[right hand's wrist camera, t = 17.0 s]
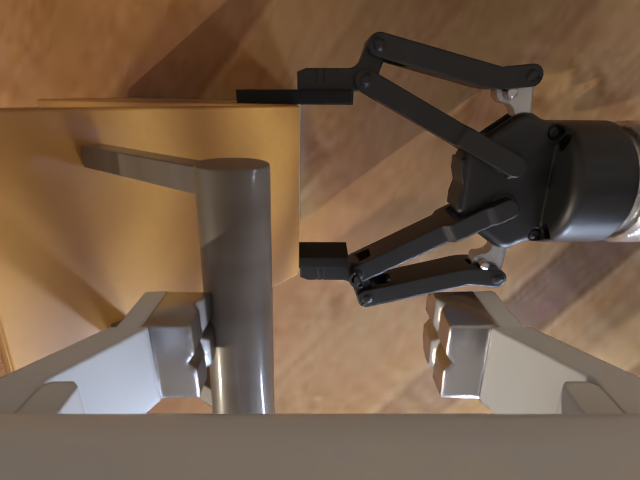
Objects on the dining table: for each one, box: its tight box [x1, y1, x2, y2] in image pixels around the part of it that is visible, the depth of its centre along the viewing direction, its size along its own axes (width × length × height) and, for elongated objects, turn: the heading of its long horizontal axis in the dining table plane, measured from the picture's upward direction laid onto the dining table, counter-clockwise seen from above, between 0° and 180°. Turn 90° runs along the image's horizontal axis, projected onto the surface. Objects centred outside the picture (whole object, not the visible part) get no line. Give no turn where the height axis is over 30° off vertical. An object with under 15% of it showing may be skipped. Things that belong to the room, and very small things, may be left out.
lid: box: [0, 105, 300, 414], centre depth 15 cm, size 14×9×8 cm
